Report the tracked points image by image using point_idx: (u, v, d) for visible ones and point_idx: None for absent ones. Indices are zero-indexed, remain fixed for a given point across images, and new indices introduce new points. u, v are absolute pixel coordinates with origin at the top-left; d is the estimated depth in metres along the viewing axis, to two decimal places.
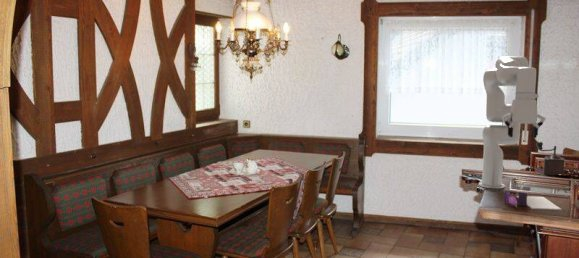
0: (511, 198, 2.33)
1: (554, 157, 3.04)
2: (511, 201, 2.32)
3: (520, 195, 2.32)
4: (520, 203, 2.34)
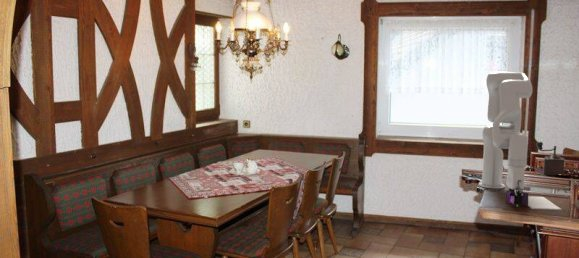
0: (512, 198, 2.34)
1: (554, 157, 3.04)
2: (512, 201, 2.33)
3: None
4: (522, 203, 2.34)
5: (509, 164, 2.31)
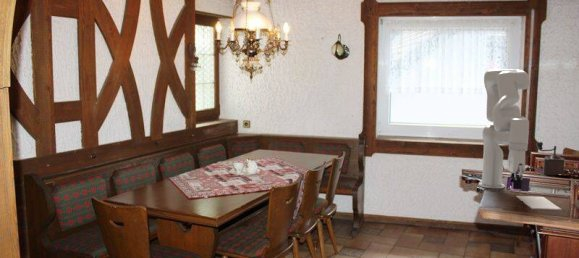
0: None
1: (554, 157, 3.04)
2: None
3: (523, 180, 2.32)
4: (522, 189, 2.34)
5: (510, 148, 2.30)
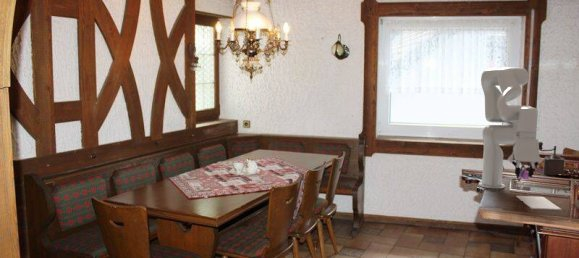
0: (527, 173, 2.33)
1: (554, 157, 3.04)
2: (528, 175, 2.33)
3: (522, 168, 2.37)
4: None
5: (532, 138, 2.28)
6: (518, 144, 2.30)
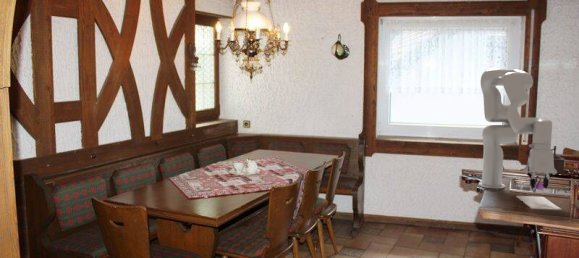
0: (542, 184, 2.37)
1: (554, 157, 3.04)
2: (543, 186, 2.37)
3: (537, 179, 2.41)
4: None
5: (547, 149, 2.32)
6: (533, 156, 2.34)
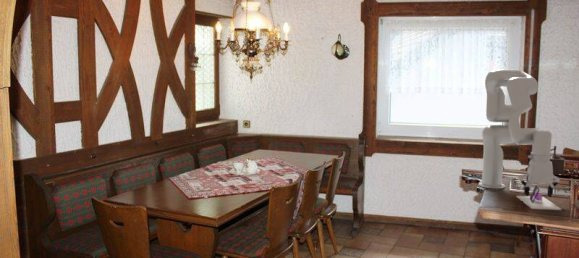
0: (540, 194, 2.38)
1: (554, 157, 3.04)
2: None
3: (536, 189, 2.42)
4: (532, 197, 2.43)
5: (546, 160, 2.33)
6: (532, 167, 2.35)
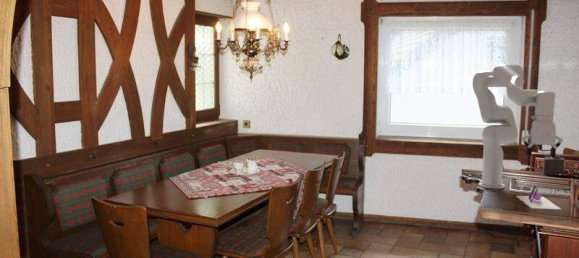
0: (539, 194, 2.39)
1: (554, 157, 3.04)
2: (540, 196, 2.39)
3: (534, 189, 2.42)
4: (530, 197, 2.43)
5: (549, 121, 2.32)
6: (535, 127, 2.34)
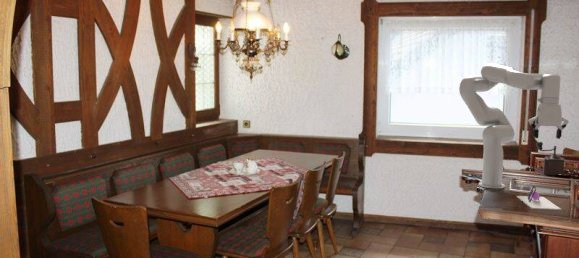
0: (538, 194, 2.39)
1: (554, 157, 3.04)
2: (539, 196, 2.39)
3: (533, 188, 2.43)
4: (529, 197, 2.44)
5: (555, 103, 2.40)
6: (542, 109, 2.42)
